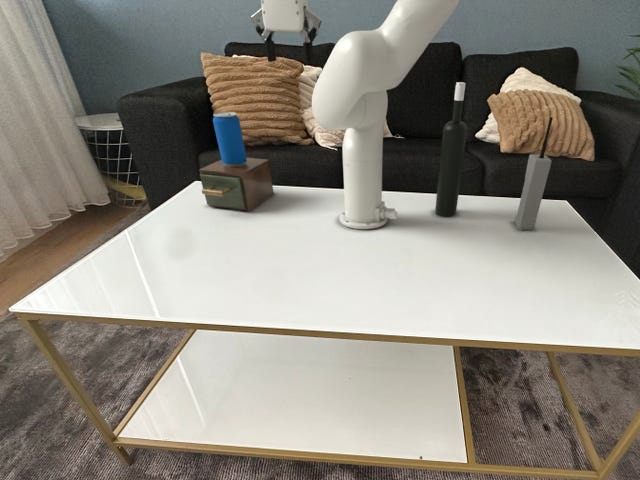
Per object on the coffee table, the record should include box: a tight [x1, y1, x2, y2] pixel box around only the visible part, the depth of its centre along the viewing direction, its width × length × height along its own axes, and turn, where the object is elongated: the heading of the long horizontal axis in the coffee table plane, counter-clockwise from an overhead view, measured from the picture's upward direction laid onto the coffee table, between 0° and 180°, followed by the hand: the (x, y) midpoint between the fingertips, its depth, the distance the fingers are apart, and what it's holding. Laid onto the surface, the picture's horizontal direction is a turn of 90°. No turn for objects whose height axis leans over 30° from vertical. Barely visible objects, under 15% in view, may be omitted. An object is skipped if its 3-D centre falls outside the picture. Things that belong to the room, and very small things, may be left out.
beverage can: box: [212, 111, 248, 167], centre depth 107 cm, size 6×6×12 cm
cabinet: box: [198, 157, 275, 212], centre depth 114 cm, size 15×13×10 cm
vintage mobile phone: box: [513, 116, 554, 231], centre depth 98 cm, size 4×5×25 cm
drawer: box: [199, 173, 246, 209], centre depth 111 cm, size 18×11×8 cm, turn 165°
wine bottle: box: [434, 81, 468, 218], centre depth 102 cm, size 6×6×30 cm
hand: (290, 62), depth 99 cm, fingers open, 9 cm apart
